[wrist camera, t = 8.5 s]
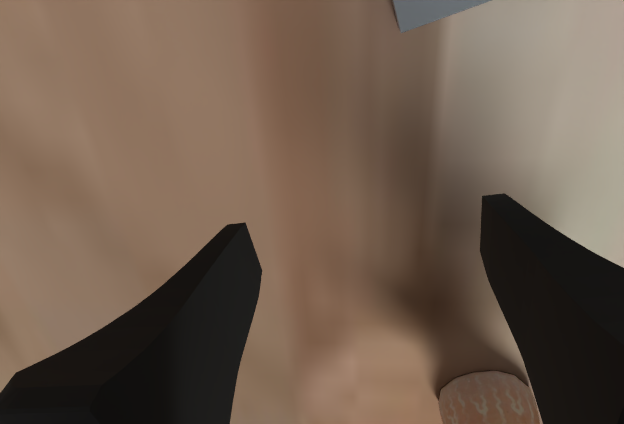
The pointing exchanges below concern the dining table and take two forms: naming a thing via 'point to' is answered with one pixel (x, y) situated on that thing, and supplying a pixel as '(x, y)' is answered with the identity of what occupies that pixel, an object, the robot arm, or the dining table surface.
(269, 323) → the dining table surface
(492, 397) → the brown statue
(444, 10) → the gray block
